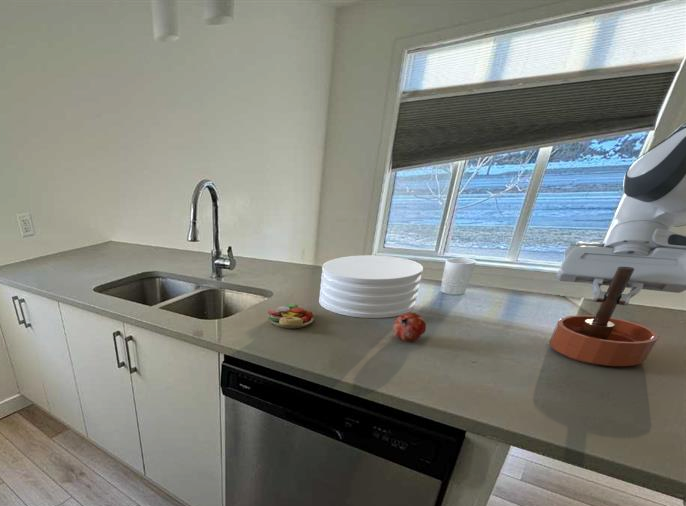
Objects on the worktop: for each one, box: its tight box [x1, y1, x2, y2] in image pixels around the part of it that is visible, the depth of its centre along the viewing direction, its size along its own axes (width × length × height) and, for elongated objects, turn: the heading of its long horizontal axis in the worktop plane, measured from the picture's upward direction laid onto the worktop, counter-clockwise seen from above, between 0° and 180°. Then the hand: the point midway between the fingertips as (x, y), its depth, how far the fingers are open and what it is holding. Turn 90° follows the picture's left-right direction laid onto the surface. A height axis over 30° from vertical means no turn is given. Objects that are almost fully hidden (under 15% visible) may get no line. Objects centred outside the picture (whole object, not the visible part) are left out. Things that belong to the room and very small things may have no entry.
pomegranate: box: [392, 311, 427, 343], centre depth 103 cm, size 7×7×10 cm
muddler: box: [579, 267, 634, 340], centre depth 87 cm, size 5×5×16 cm
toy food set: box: [267, 303, 315, 329], centre depth 120 cm, size 13×13×3 cm
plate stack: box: [318, 254, 424, 319], centre depth 126 cm, size 28×28×12 cm
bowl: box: [549, 314, 660, 367], centre depth 89 cm, size 16×16×6 cm
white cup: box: [440, 257, 477, 296], centre depth 128 cm, size 8×8×10 cm
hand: (610, 302), depth 86 cm, fingers closed on muddler, 2 cm apart
